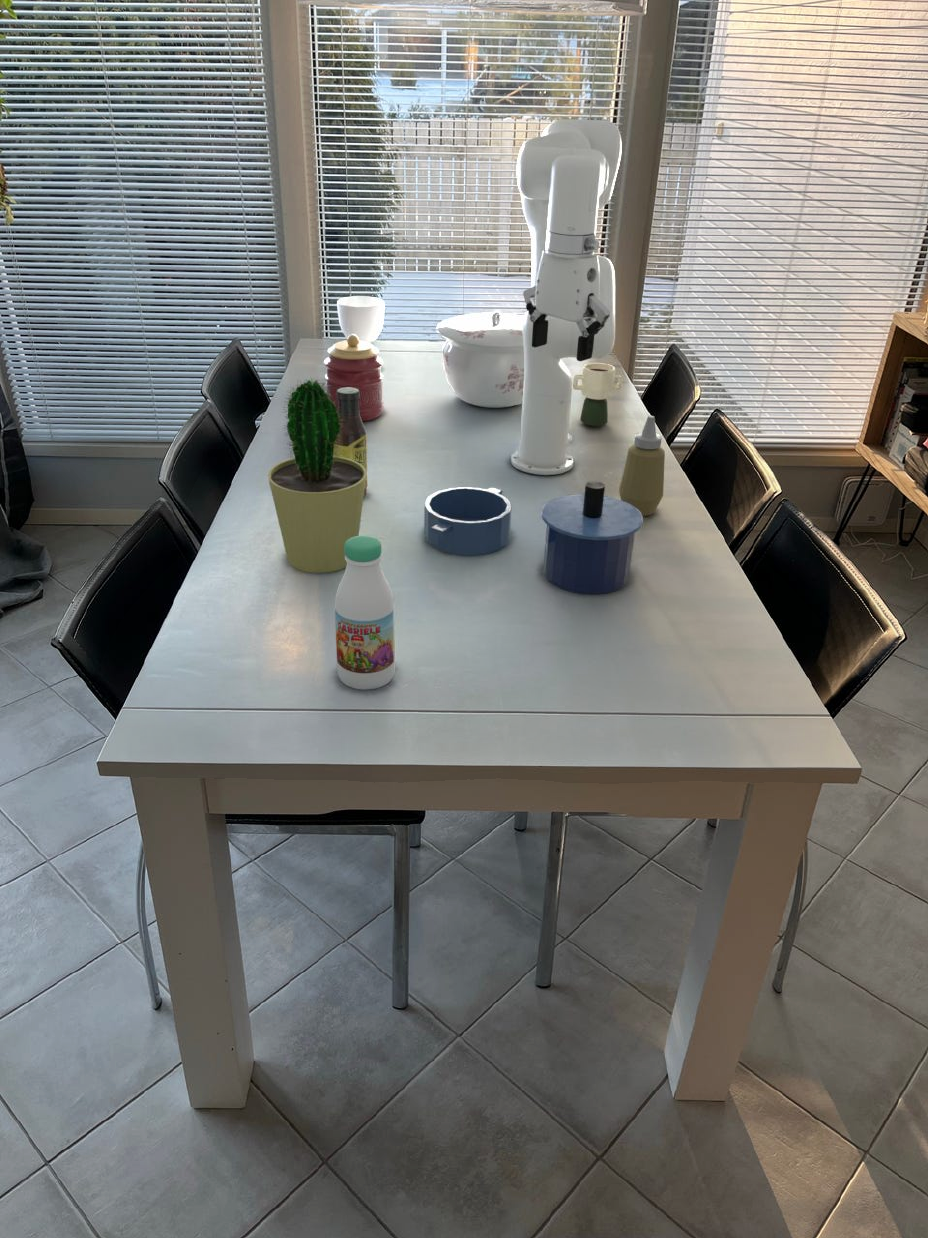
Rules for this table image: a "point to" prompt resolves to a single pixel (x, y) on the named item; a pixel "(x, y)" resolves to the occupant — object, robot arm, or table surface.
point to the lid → (592, 515)
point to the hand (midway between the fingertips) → (561, 352)
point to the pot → (587, 563)
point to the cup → (361, 316)
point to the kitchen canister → (356, 374)
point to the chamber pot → (484, 358)
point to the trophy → (596, 391)
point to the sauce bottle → (351, 428)
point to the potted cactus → (316, 485)
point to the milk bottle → (364, 618)
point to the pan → (467, 520)
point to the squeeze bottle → (644, 471)
